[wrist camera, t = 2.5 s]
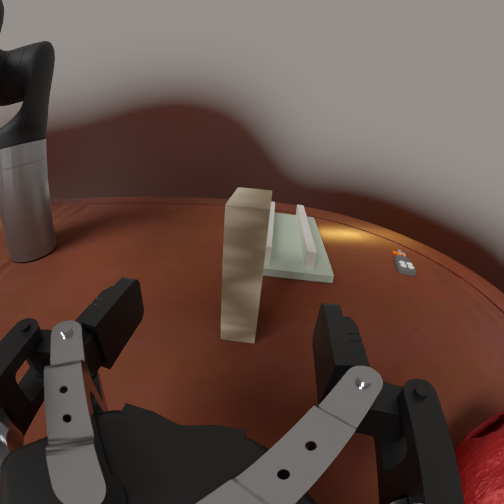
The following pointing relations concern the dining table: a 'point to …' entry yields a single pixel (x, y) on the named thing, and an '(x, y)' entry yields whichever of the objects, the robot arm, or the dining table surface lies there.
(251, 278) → the beige tall block
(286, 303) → the dining table surface
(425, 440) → the robot arm
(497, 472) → the pomegranate
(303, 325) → the dining table surface
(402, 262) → the key chain
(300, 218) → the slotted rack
